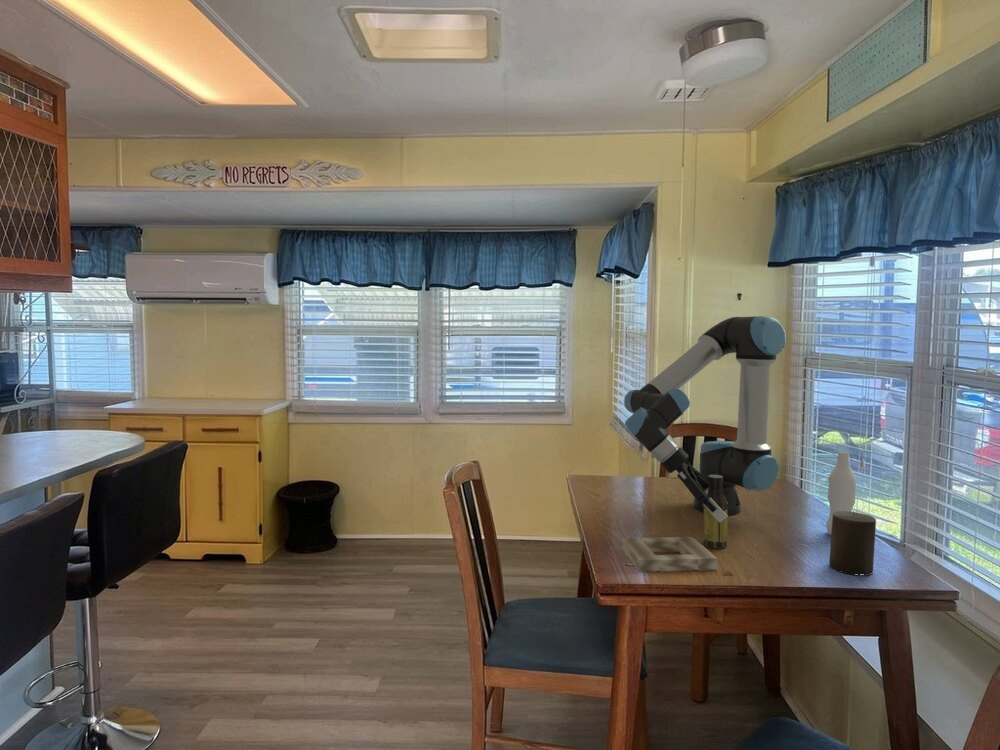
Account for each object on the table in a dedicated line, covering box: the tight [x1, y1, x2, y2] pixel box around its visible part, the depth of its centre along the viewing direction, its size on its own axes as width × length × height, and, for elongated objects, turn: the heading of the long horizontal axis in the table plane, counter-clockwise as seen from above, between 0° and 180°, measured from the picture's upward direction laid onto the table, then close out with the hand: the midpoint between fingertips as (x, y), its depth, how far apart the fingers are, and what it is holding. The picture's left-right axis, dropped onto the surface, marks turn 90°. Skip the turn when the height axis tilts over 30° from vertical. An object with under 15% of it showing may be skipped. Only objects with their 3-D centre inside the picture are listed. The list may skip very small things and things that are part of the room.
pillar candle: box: [828, 510, 877, 576], centre depth 155 cm, size 10×10×15 cm
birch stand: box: [621, 536, 718, 573], centre depth 160 cm, size 20×16×3 cm
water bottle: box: [825, 450, 857, 536], centre depth 179 cm, size 7×7×25 cm
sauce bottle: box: [703, 475, 728, 550], centre depth 170 cm, size 6×6×20 cm
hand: (723, 512), depth 169 cm, fingers open, 13 cm apart
